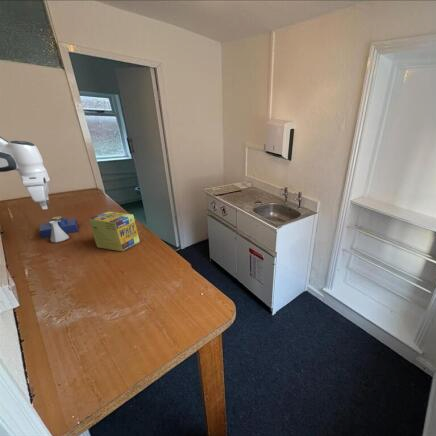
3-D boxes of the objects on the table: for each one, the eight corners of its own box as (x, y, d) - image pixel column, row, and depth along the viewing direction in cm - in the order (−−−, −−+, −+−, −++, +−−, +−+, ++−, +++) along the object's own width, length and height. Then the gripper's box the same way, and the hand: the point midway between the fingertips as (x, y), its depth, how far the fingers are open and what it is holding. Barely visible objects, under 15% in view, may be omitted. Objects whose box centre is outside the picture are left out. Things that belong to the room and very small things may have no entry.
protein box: (123, 251, 111) (115, 222, 105) (96, 247, 114) (87, 218, 108) (140, 241, 121) (134, 214, 115) (115, 237, 123) (107, 210, 117)
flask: (65, 234, 124) (58, 217, 120) (72, 238, 121) (66, 220, 117) (47, 240, 118) (40, 222, 114) (54, 244, 115) (47, 225, 111)
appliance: (42, 238, 120) (37, 227, 118) (44, 230, 128) (40, 220, 125) (77, 231, 128) (74, 221, 126) (78, 224, 136) (74, 215, 134)
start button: (52, 222, 125) (51, 219, 124) (53, 220, 127) (52, 217, 127) (62, 220, 127) (61, 218, 126) (63, 218, 130) (61, 215, 129)
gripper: (29, 174, 112) (39, 201, 118) (21, 183, 98) (34, 213, 103) (47, 173, 116) (56, 199, 121) (42, 181, 102) (53, 211, 107)
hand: (46, 206), depth 112 cm, fingers open, 8 cm apart
